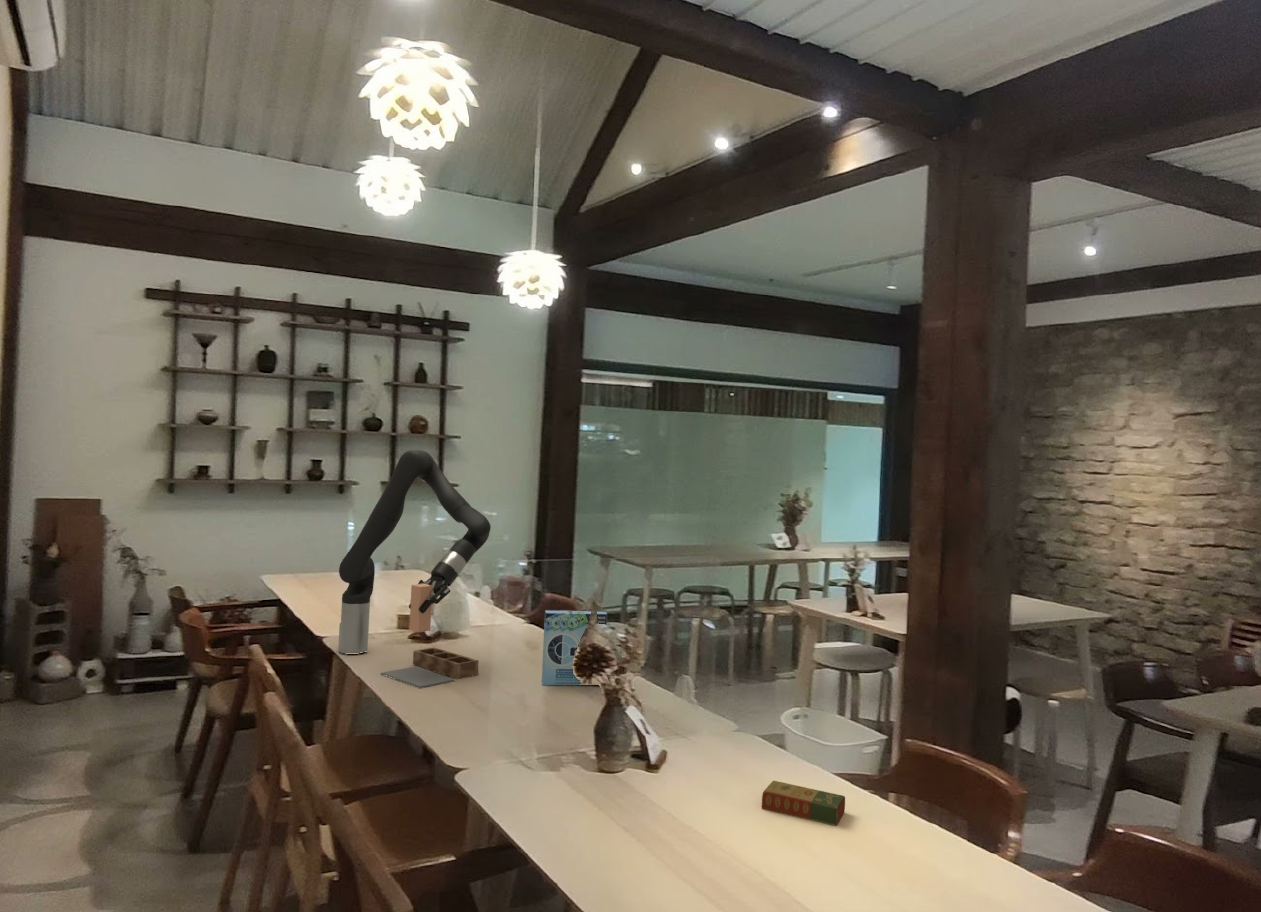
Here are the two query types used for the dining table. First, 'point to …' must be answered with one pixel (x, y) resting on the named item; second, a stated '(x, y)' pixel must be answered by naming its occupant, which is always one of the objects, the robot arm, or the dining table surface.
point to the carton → (803, 803)
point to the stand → (445, 662)
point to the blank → (418, 619)
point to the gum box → (563, 644)
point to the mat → (418, 677)
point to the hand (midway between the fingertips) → (415, 610)
